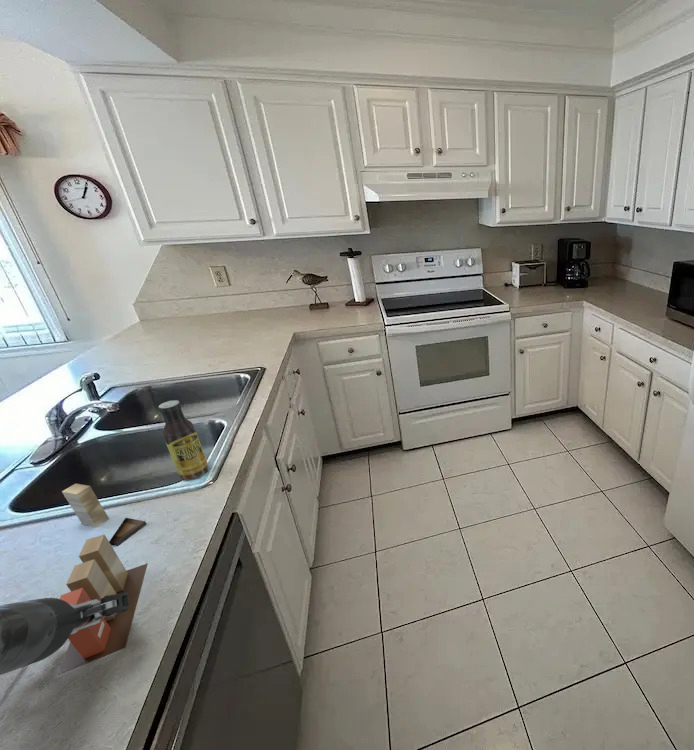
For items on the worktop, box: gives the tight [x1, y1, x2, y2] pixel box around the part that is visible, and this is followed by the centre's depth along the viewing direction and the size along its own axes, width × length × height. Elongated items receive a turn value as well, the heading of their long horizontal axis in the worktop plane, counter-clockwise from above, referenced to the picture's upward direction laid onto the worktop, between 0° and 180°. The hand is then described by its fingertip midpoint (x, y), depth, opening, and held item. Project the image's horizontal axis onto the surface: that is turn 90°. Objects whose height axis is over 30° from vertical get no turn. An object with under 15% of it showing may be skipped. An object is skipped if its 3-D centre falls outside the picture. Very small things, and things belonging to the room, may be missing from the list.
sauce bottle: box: [158, 399, 209, 481], centre depth 99 cm, size 6×6×20 cm
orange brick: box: [59, 588, 111, 659], centre depth 63 cm, size 3×4×10 cm, turn 29°
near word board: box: [57, 534, 148, 676], centre depth 67 cm, size 8×18×11 cm, turn 29°
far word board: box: [61, 483, 147, 547], centre depth 85 cm, size 6×12×11 cm, turn 77°
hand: (87, 617), depth 64 cm, fingers open, 7 cm apart
